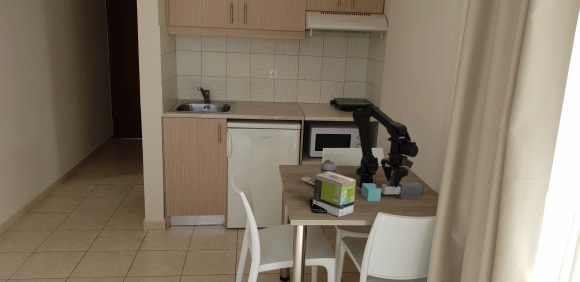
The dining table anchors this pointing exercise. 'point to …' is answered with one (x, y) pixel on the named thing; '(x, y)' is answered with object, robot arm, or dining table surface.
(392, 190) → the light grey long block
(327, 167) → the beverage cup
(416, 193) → the sleeve
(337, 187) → the tea box
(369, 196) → the socket block
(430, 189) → the dining table surface
